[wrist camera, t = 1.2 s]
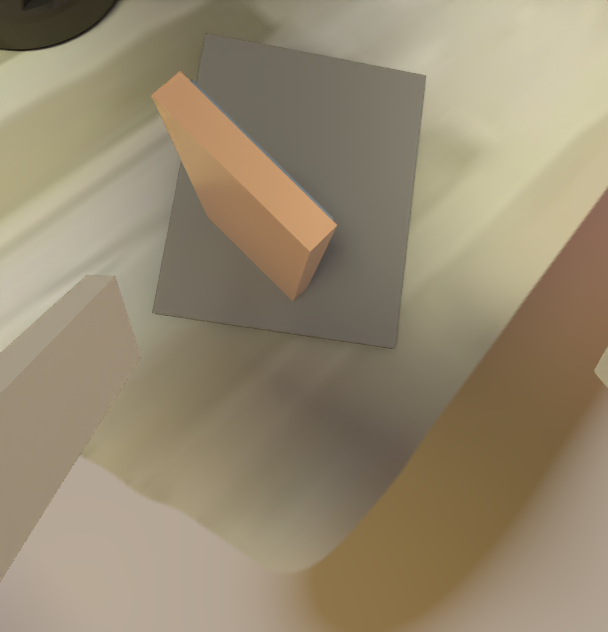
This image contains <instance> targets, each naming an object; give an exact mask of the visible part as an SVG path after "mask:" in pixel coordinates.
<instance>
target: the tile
mask: <svg viewBox="0 0 608 632" xmlns="http://www.w3.org/2000/svg"><path fill="white" fill-rule="evenodd" d="M151 96H152V98H153V100H154V103H155V105H156V107H157V109H158V111H159V113H160V116H161V118H162V120H163V122H164V124H165V126H166V129H167V131H168V133H169V135H170V137H171V139H172V141H173V144H174V146H175V148H176V150H177V152H178V154H179V157H180V159H181V161H182V163H183V165H184V167H185V170H186V172H187V174H188V176H189V178H190V180H191V183H192V185H193V187H194V189H195V191H196V193H197V196H198V198H199V200H200V202H201V204H202V206H203V208H204V211H205V213H206V215H207V217H208V218H209V219H210V220H211V221H212V222H213V223H214V224H215V225H216V226H217V227H218V228H219V229H220V230H221V231H222V232H223V233H224V234H225V235H226V236H227V237H228V238H229V239H230V240H231V241H232V242H233V243H234V244H235V245H236V246H237V247H238V248H239V249H240V250H241V251H242V252H243V253H244V254H245V255H246V256H247V257H248V258H249V259H250V260H251V261H252V262H253V263H254V264H255V265H256V266H257V267H258V268H259V269H260V270H261V271H262V272H263V273H264V274H265V275H266V276H267V277H268V278H269V279H270V280H271V281H272V282H273V283H274V284H275V285H276V286H277V287H278V288H280V289H281V290H282V291H283V292H284V293H285V294H286V295H287V296H288V297H289V298H290V299H291V300H292V301H294V300H295V299H296V298H297V297H298V296H299V295H300V294H301V293H302V292H303V291H304V290H305V289H306V288H307V287H308V285H309V283H310V281H311V279H312V277H313V275H314V273H315V271H316V269H317V267H318V265H319V262H320V260H321V258H322V256H323V254H324V252H325V250H326V248H327V246H328V244H329V242H330V239H331V237H332V235H333V233H334V231H335V229H336V227H337V224H336V223H335V222H333V220H334V218H333V217H332V216H331V215H330V214H329V213H328V212H327V211H326V210H325V209H324V208H323V207H321V206H320V205H319V204H318V203H317V202H316V201H315V200H314V199H313V198H312V197H311V196H310V195H309V194H308V193H307V192H306V191H305V190H304V189H303V188H302V187H301V186H300V185H299V184H298V183H297V182H296V181H295V180H294V179H293V178H292V177H291V176H290V175H289V174H288V173H287V172H286V171H285V170H284V169H283V168H282V167H281V166H280V165H279V164H278V163H277V162H276V161H275V160H274V159H273V158H272V157H271V156H269V155H268V154H267V153H266V152H265V151H264V150H263V149H262V148H261V147H260V146H259V145H258V144H257V143H256V142H255V141H254V140H253V139H252V138H251V137H250V136H249V135H248V134H247V133H246V132H245V131H244V130H243V129H242V128H241V127H240V126H239V125H238V124H237V123H236V122H235V121H234V120H233V119H232V118H231V117H230V116H229V115H228V114H227V113H226V112H225V111H224V110H223V109H222V108H221V107H220V106H219V105H218V104H216V103H215V102H214V101H213V100H212V99H211V98H210V97H209V96H208V95H207V94H206V93H205V92H204V91H203V90H202V89H201V88H200V87H199V86H198V85H197V84H196V83H195V82H194V81H193V80H189V79H188V78H187V77H186V76H185V75H184V74H183V73H182V72H181V71H180V72H178V73H177V74H176V75H175V76H174V77H172V78H171V79H170V80H169V81H168V82H166V83H165V84H164V85H163V86H162V87H160V88H159V89H158V90H157V91H156V92H154V93H153V94H152V95H151Z"/></svg>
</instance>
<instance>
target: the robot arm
mask: <svg viewBox="0 0 608 632" xmlns="http://www.w3.org/2000/svg"><path fill="white" fill-rule="evenodd" d="M114 1H115V0H0V48H3V49H31V48H39V47H44V46H48V45H52V44H56V43H59V42H62V41H64V40H67V39H69V38H71V37H73V36H76V35H77V34H79V33H81V32H83V31H84V30H86V29H87V28H89V27H90V26H91V25H93V24H94V23H95V22H96V21H98V20H99V19H100V18H101V17H102V16H103V15H104V14H105V13H106V12H107V11H108V9H109V8H110V7H111V6H112V4H113V3H114ZM140 358H141V357H140V354H139V351H138V348H137V344H136V341H135V338H134V335H133V332H132V329H131V325H130V322H129V319H128V316H127V313H126V310H125V306H124V303H123V300H122V297H121V294H120V291H119V288H118V284H117V281H116V278H115V276H85V277H84V278H83V279H82V280H81V281H80V282H79V283H78V284H76V285H75V286H74V287H73V288H72V289H71V290H70V291H69V292H68V293H66V294H65V295H64V296H63V297H62V298H61V299H60V300H59V301H58V302H57V303H55V304H54V305H53V306H52V307H51V308H50V309H49V310H48V311H47V312H45V313H44V314H43V315H42V316H41V317H40V318H39V319H38V320H37V321H35V322H34V323H33V324H32V325H31V326H30V327H29V328H28V329H27V330H26V331H24V332H23V333H22V334H21V335H20V336H19V337H18V338H17V339H16V340H14V341H13V342H12V343H11V344H10V345H9V346H8V347H7V348H6V349H4V350H3V351H2V352H1V353H0V581H1V580H2V578H3V577H4V575H5V573H6V572H7V570H8V569H9V567H10V565H11V564H12V562H13V561H14V559H15V557H16V556H17V554H18V553H19V551H20V550H21V548H22V546H23V545H24V543H25V542H26V540H27V538H28V537H29V535H30V534H31V532H32V530H33V529H34V527H35V525H36V524H37V522H38V521H39V519H40V518H41V516H42V514H43V513H44V511H45V509H46V508H47V506H48V505H49V503H50V502H51V500H52V498H53V497H54V495H55V494H56V492H57V490H58V489H59V487H60V486H61V484H62V482H63V481H64V479H65V478H66V476H67V474H68V473H69V471H70V470H71V468H72V466H73V465H74V463H75V462H76V460H77V459H78V457H79V455H80V454H81V452H82V451H83V449H84V447H85V446H86V444H87V443H88V441H89V439H90V438H91V436H92V435H93V433H94V431H95V430H96V428H97V427H98V425H99V423H100V422H101V420H102V419H103V417H104V415H105V414H106V412H107V411H108V409H109V407H110V406H111V404H112V403H113V401H114V399H115V398H116V396H117V395H118V393H119V391H120V390H121V388H122V387H123V385H124V383H125V382H126V380H127V379H128V377H129V376H130V374H131V372H132V371H133V369H134V368H135V366H136V364H137V363H138V361H139V360H140ZM594 372H595V373H596V375H597V376H598V377H599V378H600V379H601V381H602V382H603V383H604V384H605V385H606V386H607V388H608V346H607V348H606V350H605V352H604V354H603V356H602V358H601V359H600V361H599V363H598V365H597V367H596V368H595V370H594Z"/></svg>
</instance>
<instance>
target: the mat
mask: <svg viewBox="0 0 608 632" xmlns="http://www.w3.org/2000/svg"><path fill="white" fill-rule="evenodd" d="M425 80H426V75H421V74H416V73H410V72H405V71H400V70H395V69H390V68H384V67H379V66H374V65H369V64H364V63H359V62H353V61H348V60H343V59H338V58H333V57H327V56H322V55H317V54H312V53H307V52H302V51H296V50H291V49H286V48H281V47H276V46H271V45H265V44H260V43H255V42H250V41H245V40H239V39H234V38H229V37H224V36H219V35H214V34H208V33H206V34H205V39H204V44H203V49H202V55H201V60H200V65H199V70H198V76H197V81H196V84H197V85H198V86H199V87H200V88H201V89H202V90H203V91H204V92H205V93H206V94H207V95H208V96H209V97H210V98H211V99H212V100H213V101H214V102H215V103H216V104H218V105H219V106H220V107H221V108H222V109H223V110H224V111H225V112H226V113H227V114H228V115H229V116H230V117H231V118H232V119H233V120H234V121H235V122H236V123H237V124H238V125H239V126H240V127H241V128H242V129H243V130H244V131H245V132H246V133H247V134H248V135H249V136H250V137H251V138H252V139H253V140H254V141H255V142H256V143H257V144H258V145H259V146H260V147H261V148H262V149H263V150H264V151H265V152H266V153H267V154H268V155H269V156H271V157H272V158H273V159H274V160H275V161H276V162H277V163H278V164H279V165H280V166H281V167H282V168H283V169H284V170H285V171H286V172H287V173H288V174H289V175H290V176H291V177H292V178H293V179H294V180H295V181H296V182H297V183H298V184H299V185H300V186H301V187H302V188H303V189H304V190H305V191H306V192H307V193H308V194H309V195H310V196H311V197H312V198H313V199H314V200H315V201H316V202H317V203H318V204H319V205H320V206H321V207H323V208H324V209H325V210H326V211H327V212H328V213H329V214H330V215H331V216H332V217H333V218H334V220H333V222H335V223H336V224H337V227H336V229H335V231H334V233H333V235H332V237H331V239H330V242H329V244H328V246H327V248H326V250H325V252H324V254H323V256H322V258H321V260H320V262H319V265H318V267H317V269H316V271H315V273H314V275H313V277H312V279H311V281H310V283H309V285H308V287H307V288H306V289H305V290H304V291H303V292H302V293H301V294H300V295H299V296H298V297H297V298H296V299H295V300H294V301H292V300H291V299H290V298H289V297H288V296H287V295H286V294H285V293H284V292H283V291H282V290H281V289H280V288H278V287H277V286H276V285H275V284H274V283H273V282H272V281H271V280H270V279H269V278H268V277H267V276H266V275H265V274H264V273H263V272H262V271H261V270H260V269H259V268H258V267H257V266H256V265H255V264H254V263H253V262H252V261H251V260H250V259H249V258H248V257H247V256H246V255H245V254H244V253H243V252H242V251H241V250H240V249H239V248H238V247H237V246H236V245H235V244H234V243H233V242H232V241H231V240H230V239H229V238H228V237H227V236H226V235H225V234H224V233H223V232H222V231H221V230H220V229H219V228H218V227H217V226H216V225H215V224H214V223H213V222H212V221H211V220H210V219H209V218H208V217H207V215H206V213H205V211H204V208H203V206H202V204H201V202H200V200H199V198H198V196H197V193H196V191H195V189H194V187H193V185H192V183H191V180H190V178H189V176H188V174H187V172H186V170H185V167H184V165H183V163H182V161H181V165H180V170H179V175H178V180H177V186H176V191H175V196H174V201H173V207H172V212H171V217H170V222H169V228H168V233H167V238H166V243H165V249H164V254H163V259H162V264H161V270H160V275H159V280H158V285H157V291H156V296H155V301H154V306H153V312H152V313H155V314H160V315H167V316H173V317H180V318H187V319H194V320H201V321H207V322H214V323H221V324H228V325H235V326H241V327H248V328H255V329H262V330H269V331H275V332H282V333H289V334H296V335H303V336H309V337H316V338H323V339H330V340H337V341H343V342H350V343H357V344H364V345H371V346H377V347H384V348H391V349H393V348H395V347H396V339H397V330H398V321H399V312H400V303H401V294H402V285H403V276H404V267H405V258H406V249H407V241H408V232H409V223H410V214H411V205H412V196H413V187H414V178H415V169H416V160H417V152H418V143H419V134H420V125H421V116H422V107H423V98H424V89H425Z"/></svg>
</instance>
